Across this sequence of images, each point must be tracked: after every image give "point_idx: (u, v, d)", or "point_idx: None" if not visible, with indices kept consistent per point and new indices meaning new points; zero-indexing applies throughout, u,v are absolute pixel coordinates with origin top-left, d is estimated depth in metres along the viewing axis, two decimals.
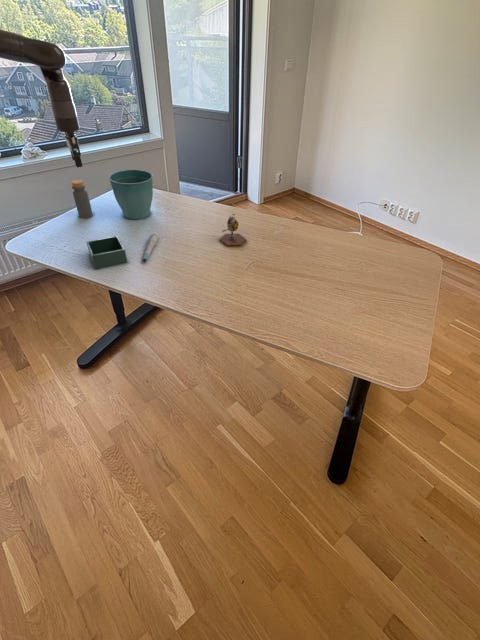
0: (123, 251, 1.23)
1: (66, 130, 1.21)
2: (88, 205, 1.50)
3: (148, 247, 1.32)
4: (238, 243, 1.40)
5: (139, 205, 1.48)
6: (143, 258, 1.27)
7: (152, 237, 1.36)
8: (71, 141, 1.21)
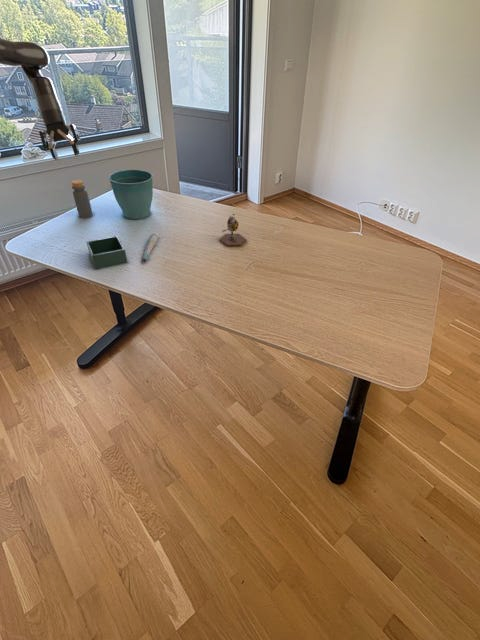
0: (123, 251, 1.23)
1: (62, 120, 1.30)
2: (88, 205, 1.50)
3: (148, 247, 1.32)
4: (238, 242, 1.40)
5: (139, 205, 1.48)
6: (143, 258, 1.27)
7: (152, 237, 1.36)
8: (73, 127, 1.31)
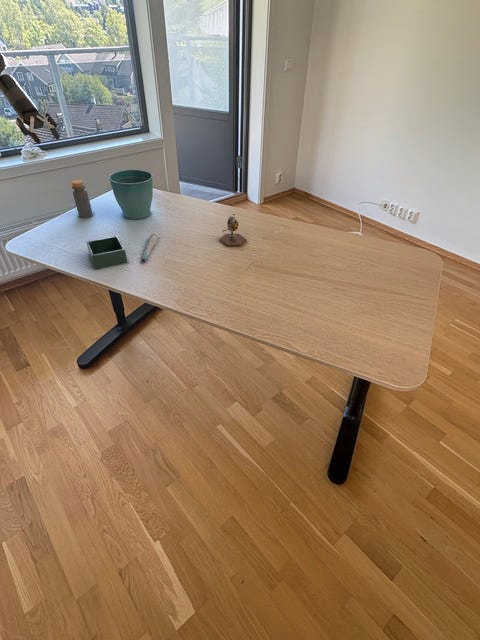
0: (123, 251, 1.23)
1: None
2: (88, 205, 1.50)
3: (147, 247, 1.32)
4: (238, 242, 1.40)
5: (139, 205, 1.48)
6: (142, 258, 1.27)
7: (152, 237, 1.36)
8: None
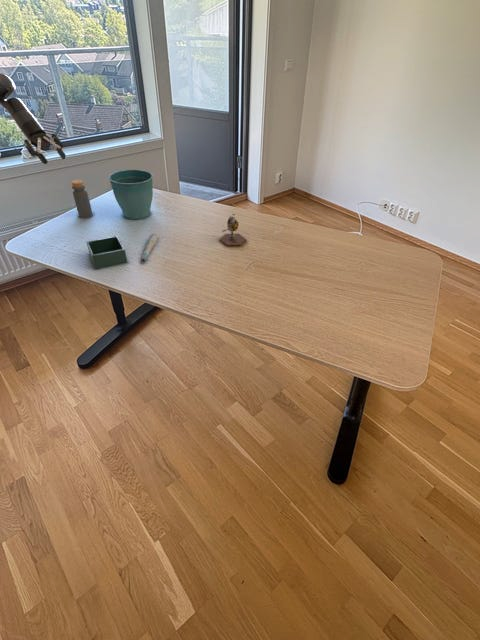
0: (123, 251, 1.23)
1: None
2: (88, 205, 1.50)
3: (147, 247, 1.32)
4: (238, 242, 1.40)
5: (139, 205, 1.48)
6: (142, 258, 1.27)
7: (152, 237, 1.36)
8: None
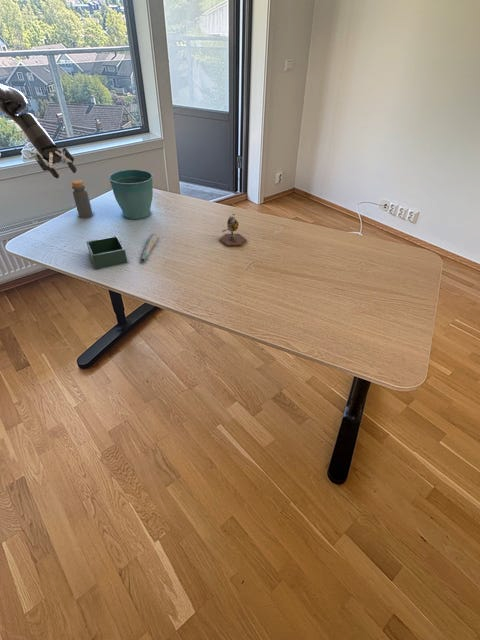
0: (123, 251, 1.23)
1: None
2: (88, 205, 1.50)
3: (147, 247, 1.32)
4: (238, 243, 1.40)
5: (139, 205, 1.48)
6: (141, 258, 1.27)
7: (151, 237, 1.36)
8: None
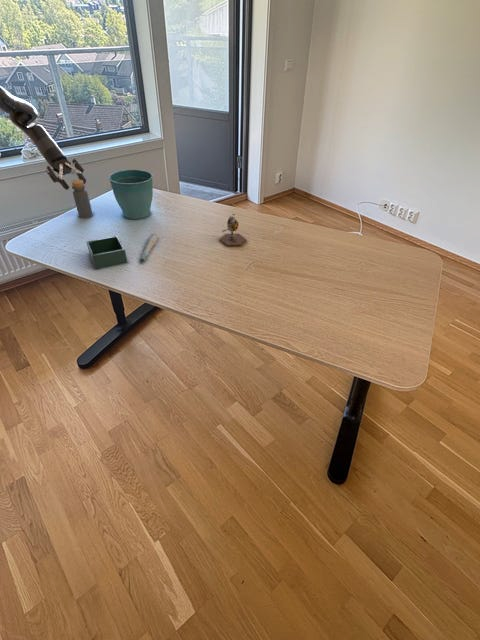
0: (123, 251, 1.23)
1: None
2: (88, 205, 1.50)
3: (147, 247, 1.32)
4: (238, 242, 1.40)
5: (139, 205, 1.48)
6: (141, 258, 1.27)
7: (151, 237, 1.36)
8: None
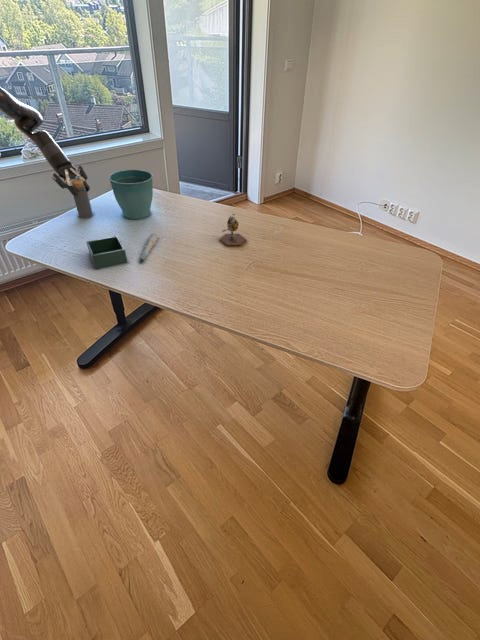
0: (123, 251, 1.23)
1: None
2: (88, 205, 1.50)
3: (146, 247, 1.32)
4: (238, 243, 1.40)
5: (139, 205, 1.48)
6: None
7: (151, 237, 1.36)
8: None
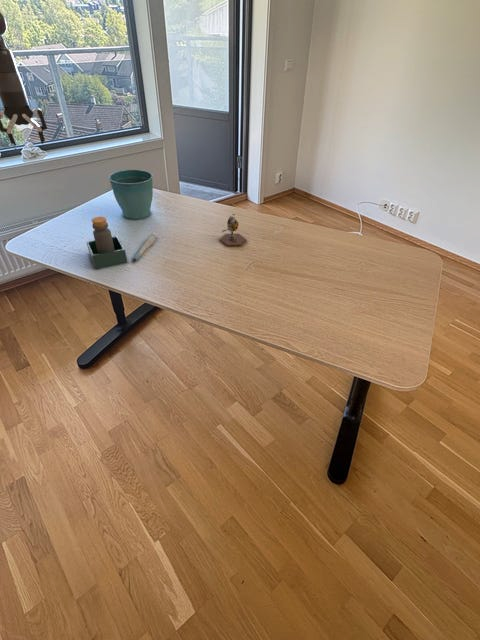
0: (123, 251, 1.23)
1: (28, 104, 1.13)
2: (111, 246, 1.24)
3: (142, 247, 1.32)
4: (238, 242, 1.40)
5: (139, 205, 1.48)
6: None
7: (149, 237, 1.36)
8: None
